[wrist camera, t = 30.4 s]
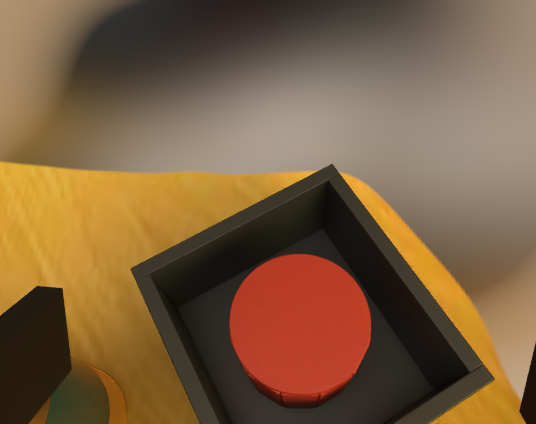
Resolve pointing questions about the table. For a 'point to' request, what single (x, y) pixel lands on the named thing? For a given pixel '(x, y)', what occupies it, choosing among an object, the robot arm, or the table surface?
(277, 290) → the cap
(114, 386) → the spray can
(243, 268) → the bin
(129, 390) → the table surface
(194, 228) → the table surface
